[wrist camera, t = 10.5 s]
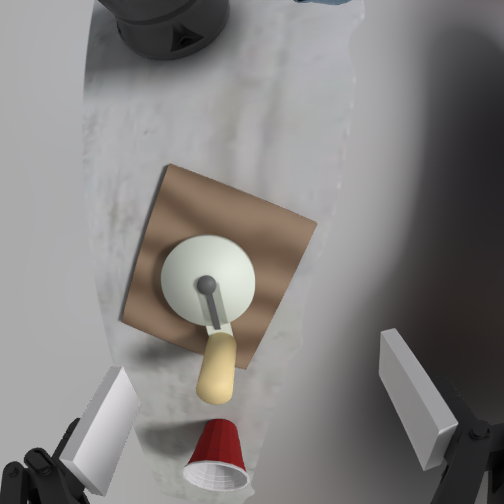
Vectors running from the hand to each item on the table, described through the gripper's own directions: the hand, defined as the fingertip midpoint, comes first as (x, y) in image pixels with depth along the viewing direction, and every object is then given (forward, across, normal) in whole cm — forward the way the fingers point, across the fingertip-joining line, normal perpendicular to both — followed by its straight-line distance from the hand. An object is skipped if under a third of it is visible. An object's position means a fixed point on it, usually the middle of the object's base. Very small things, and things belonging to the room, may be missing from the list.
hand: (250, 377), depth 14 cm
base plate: (+27, -7, -4) cm, 28 cm away
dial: (+26, -7, -7) cm, 28 cm away
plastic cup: (+27, -12, -34) cm, 45 cm away
